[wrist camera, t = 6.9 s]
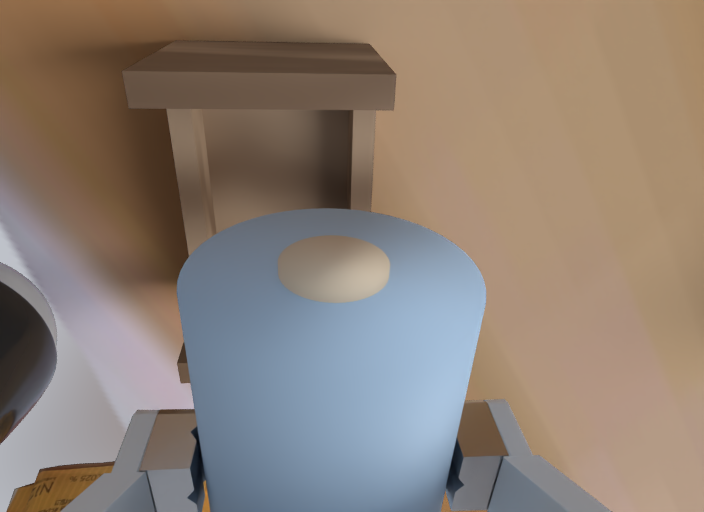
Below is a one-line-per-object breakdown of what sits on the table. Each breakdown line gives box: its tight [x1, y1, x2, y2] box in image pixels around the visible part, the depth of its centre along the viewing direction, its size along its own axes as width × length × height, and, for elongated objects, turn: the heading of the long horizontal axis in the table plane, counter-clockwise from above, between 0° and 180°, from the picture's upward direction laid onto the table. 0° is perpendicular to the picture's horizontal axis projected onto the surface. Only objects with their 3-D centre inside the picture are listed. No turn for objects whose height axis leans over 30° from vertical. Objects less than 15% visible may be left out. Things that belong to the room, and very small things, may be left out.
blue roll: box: [177, 208, 486, 512], centre depth 11 cm, size 9×5×5 cm, turn 177°
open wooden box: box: [122, 40, 396, 383], centre depth 24 cm, size 14×9×8 cm, turn 178°
